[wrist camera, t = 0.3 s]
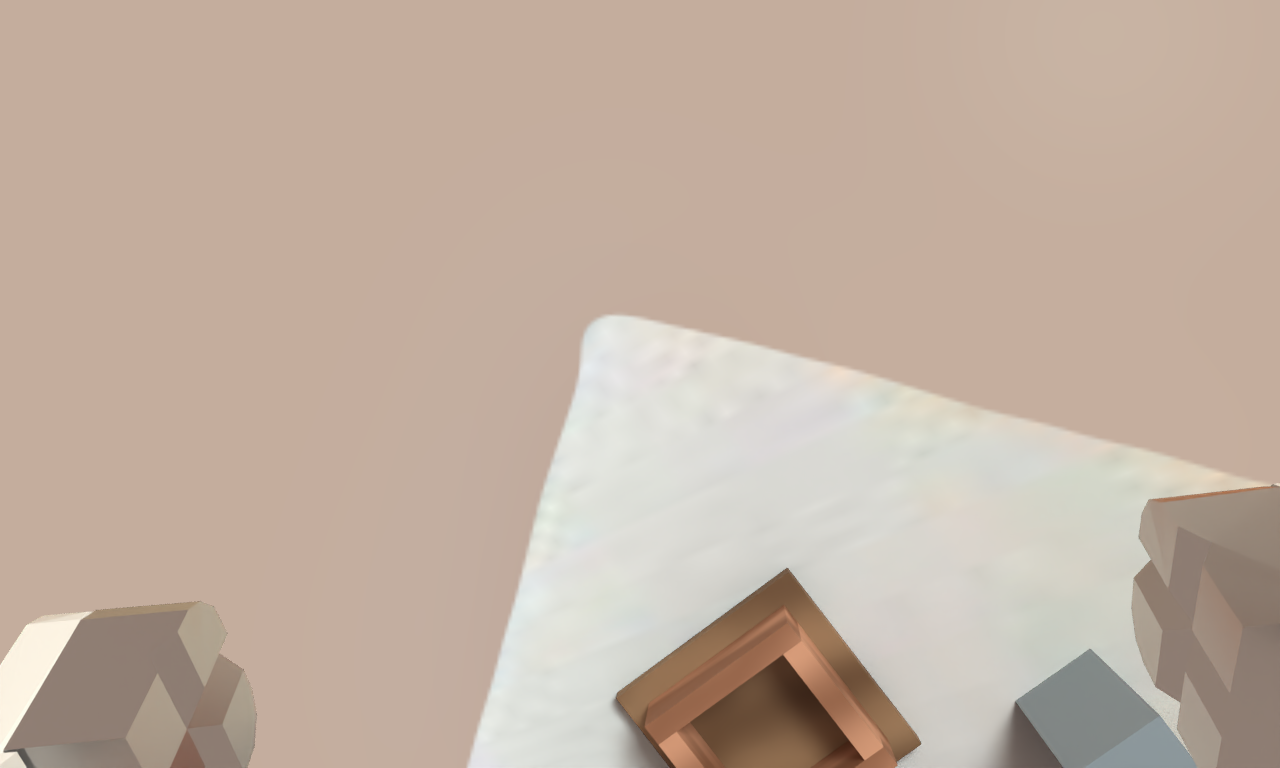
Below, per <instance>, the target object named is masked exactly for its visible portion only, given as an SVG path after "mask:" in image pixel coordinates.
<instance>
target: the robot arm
mask: <svg viewBox="0 0 1280 768" xmlns="http://www.w3.org/2000/svg"><path fill="white" fill-rule="evenodd" d="M1139 539H1140V541H1141V543H1142V544H1143V546H1144V548H1145V550H1146V551H1147V553H1148V555H1149V557H1150V558H1151V560H1150V561H1149V562H1148V563H1147V564H1146V565H1145V566H1144V568H1143V569H1142V570H1141V571H1140V572H1139V573H1138V574H1137V575H1136V576H1135V577H1134V581H1133V594H1132V607H1131V609H1132V616H1133V623H1134V630H1135V637H1136V642H1137V645H1138V648H1139V651H1140V654H1141V657H1142V660H1143V663H1144V665H1145V667H1146V669H1147V671H1148V673H1149V675H1150V677H1151V679H1152V681H1153V683H1154V685H1155V687H1157V688H1158V689H1160V690H1161V691H1163V692H1165V693H1166V694H1168V695H1169V696H1171V697H1172V698H1174V699H1176V700H1177V701H1179V702H1180V710H1179V717H1178V724H1177V730H1178V732H1179V734H1180V735H1181V737H1182V739H1183V741H1184V743H1185V745H1186V747H1187V749H1188V751H1189V753H1190V754H1191V756H1192V758H1193V760H1194V762H1195V764H1196V766H1197V768H1280V483H1278V484H1273V485H1271V486H1270V487H1256V488H1247V489H1238V490H1229V491H1220V492H1212V493H1203V494H1194V495H1185V496H1176V497H1168V498H1159V499H1150V500H1148V502H1147V504H1146V506H1145V508H1144V510H1143V512H1142V515H1141V523H1140V530H1139ZM226 636H227V631H226V629H225V627H224V625H223V623H222V621H221V619H220V617H219V615H218V614H217V611H216V610H215V607H214V606H212V605H209V604H206V603H203V602H200V601H198V602H187V603H175V604H163V605H151V606H139V607H127V608H115V609H103V610H96V611H94V612H78V613H68V614H56V615H44V616H41V617H40V618H38V619H36V620H34V621H33V622H31V623H29V624H28V625H26V627H25V628H24V630H23V631H22V633H21V634H20V636H19V637H18V639H17V640H16V642H15V643H14V645H13V646H12V648H11V649H10V651H9V653H8V654H7V656H6V657H5V659H4V660H3V662H2V663H1V665H0V768H248V764H249V761H250V758H251V755H252V752H253V749H254V746H255V730H256V716H257V713H256V707H255V702H254V697H253V691H252V688H251V686H250V683H249V681H248V679H247V676H246V674H245V671H244V669H242V668H241V667H239V666H238V665H236V664H235V663H233V662H232V661H230V660H229V659H227V658H226V657H224V656H223V655H221V654H220V650H221V648H222V645H223V643H224V641H225V638H226Z"/></svg>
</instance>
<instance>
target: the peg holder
mask: <svg viewBox="0 0 1280 768" xmlns="http://www.w3.org/2000/svg"><path fill="white" fill-rule="evenodd" d="M616 699H617V700H618V701H619V703H620V704H621V705H622V707H623V708H624V709H625V710H626V712H627V713H628V714H629V716H630V717H631V718H632V719H633V721H634V722H635V723H636V725H637V726H638V727H639V728H640V730H641V731H642V732H643V734H644V735H645V736H646V737H647V739H648V740H649V741H650V743H651V744H652V745H653V746H654V748H655V749H656V750H657V752H658V753H659V754H660V755H661V757H662V758H663V759H664V761H665V762H666V763H667V764H668V766H669V767H670V768H894V767H896V766H897V763H896V762H897V761H898V760H900V759H901V758H902V757H904V756H905V755H907V754H908V753H910V752H911V751H912V750H914V749H915V748H917V747H918V746H919V745H921V742H920V740H919V738H918V736H917V735H916V734H915V732H914V731H913V730H912V728H911V727H910V726H909V724H908V723H907V722H906V721H905V719H904V718H903V717H902V715H901V714H900V713H899V711H898V710H897V709H896V708H895V706H894V705H893V704H892V702H891V701H890V700H889V699H888V697H887V696H886V695H885V693H884V692H883V691H882V689H881V688H880V687H879V686H878V684H877V683H876V682H875V680H874V679H873V678H872V677H871V675H870V674H869V673H868V671H867V670H866V669H865V667H864V666H863V665H862V664H861V662H860V661H859V660H858V658H857V657H856V656H855V654H854V653H853V652H852V651H851V649H850V648H849V647H848V645H847V644H846V643H845V642H844V640H843V639H842V638H841V636H840V635H839V634H838V632H837V631H836V630H835V629H834V627H833V626H832V625H831V623H830V622H829V621H828V620H827V618H826V617H825V616H824V614H823V613H822V612H821V610H820V609H819V608H818V607H817V605H816V604H815V603H814V601H813V600H812V599H811V597H810V596H809V595H808V594H807V592H806V591H805V590H804V588H803V587H802V586H801V585H800V583H799V582H798V581H797V579H796V578H795V577H794V575H793V574H792V573H791V572H790V570H789V569H788V568H786V569H785V570H784V571H782V572H781V573H779V574H778V575H777V576H775V577H774V578H773V579H771V580H770V581H769V582H767V583H766V584H765V585H763V586H762V587H760V588H759V589H758V590H756V591H755V592H754V593H752V594H751V595H750V596H748V597H747V598H745V599H744V600H743V601H741V602H740V603H739V604H737V605H736V606H735V607H733V608H732V609H730V610H729V611H728V612H726V613H725V614H724V615H722V616H721V617H720V618H718V619H717V620H716V621H714V622H713V623H711V624H710V625H709V626H707V627H706V628H705V629H703V630H702V631H701V632H699V633H698V634H696V635H695V636H694V637H692V638H691V639H690V640H688V641H687V642H686V643H684V644H683V645H681V646H680V647H679V648H677V649H676V650H675V651H673V652H672V653H671V654H669V655H668V656H667V657H665V658H664V659H662V660H661V661H660V662H658V663H657V664H656V665H654V666H653V667H652V668H650V669H649V670H647V671H646V672H645V673H643V674H642V675H641V676H639V677H638V678H637V679H635V680H634V681H633V682H631V683H630V684H628V685H627V686H626V687H624V688H623V689H622V690H620V691H619V692H618V694H617V697H616Z"/></svg>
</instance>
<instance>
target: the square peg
mask: <svg viewBox="0 0 1280 768" xmlns="http://www.w3.org/2000/svg"><path fill="white" fill-rule="evenodd" d="M1016 703H1017V704H1018V705H1019V707H1020V708H1021V710H1022V711H1023V712H1024V714H1025V715H1026V717H1027V718H1028V719H1029V721H1030V722H1031V723H1032V725H1033V726H1034V728H1035V729H1036V730H1037V732H1038V733H1039V735H1040V736H1041V737H1042V739H1043V740H1044V742H1045V743H1046V744H1047V746H1048V747H1049V748H1050V750H1051V751H1052V753H1053V754H1054V755H1055V757H1056V758H1057V760H1058V761H1059V762H1060V764H1061V765H1062V767H1063V768H1197V766H1196V764H1195V762H1194V760H1193V758H1192V757H1191V756H1190V754H1189V753H1188V752H1187V750H1186V749H1185V748H1184V746H1183V745H1182V744H1181V743H1180V741H1179V740H1178V739H1177V737H1176V736H1175V735H1174V733H1173V732H1172V731H1171V729H1170V728H1169V727H1168V726H1167V724H1166V723H1165V722H1164V720H1163V719H1162V718H1161V716H1160V715H1159V714H1158V713H1157V712H1156V711H1155V710H1154V709H1152V708H1151V707H1150V706H1149V705H1148V704H1147V703H1146V702H1145V701H1144V700H1143V699H1142V698H1141V697H1140V696H1139V695H1138V694H1137V693H1136V692H1135V691H1134V690H1133V689H1132V688H1131V687H1130V686H1129V685H1128V684H1127V683H1126V682H1124V681H1123V680H1122V679H1121V678H1120V677H1119V676H1118V675H1117V674H1116V673H1115V672H1114V671H1113V670H1112V669H1111V668H1110V667H1109V666H1108V665H1107V664H1106V663H1105V662H1104V661H1103V660H1102V659H1101V658H1100V657H1099V656H1097V655H1096V654H1095V653H1094V652H1093V651H1092V650H1091V649H1089V650H1088V651H1086V652H1085V653H1083V654H1082V655H1081V656H1079V657H1078V658H1076V659H1075V660H1073V661H1072V662H1071V663H1069V664H1068V665H1066V666H1065V667H1063V668H1062V669H1061V670H1059V671H1058V672H1056V673H1055V674H1053V675H1052V676H1051V677H1049V678H1048V679H1046V680H1045V681H1043V682H1042V683H1041V684H1039V685H1038V686H1036V687H1035V688H1033V689H1032V690H1031V691H1029V692H1028V693H1026V694H1025V695H1024V696H1022V697H1021V698H1019V699H1018V700H1016Z"/></svg>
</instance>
